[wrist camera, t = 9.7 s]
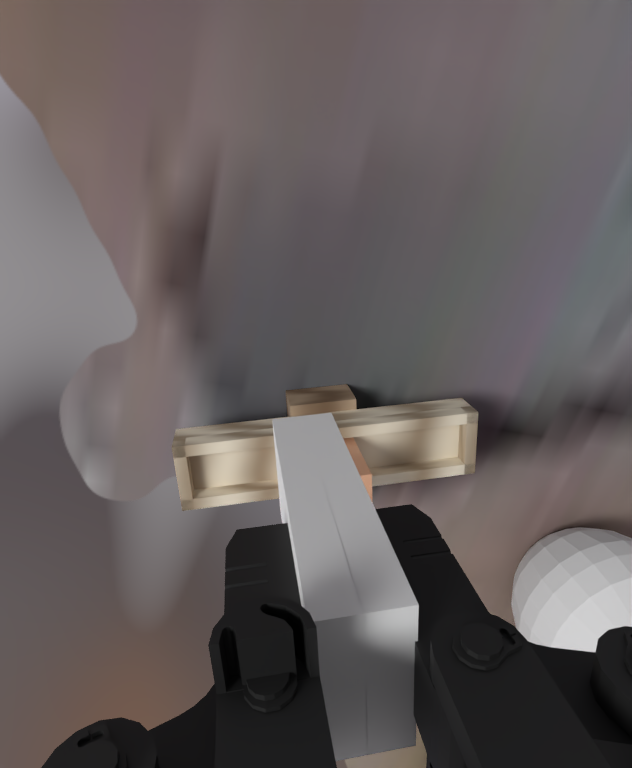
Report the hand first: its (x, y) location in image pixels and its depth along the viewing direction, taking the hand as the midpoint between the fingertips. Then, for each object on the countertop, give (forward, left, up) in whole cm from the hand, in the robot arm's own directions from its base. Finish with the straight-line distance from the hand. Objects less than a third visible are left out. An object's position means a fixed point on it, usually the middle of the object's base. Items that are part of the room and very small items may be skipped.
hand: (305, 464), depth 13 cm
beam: (+15, +5, -34) cm, 38 cm away
